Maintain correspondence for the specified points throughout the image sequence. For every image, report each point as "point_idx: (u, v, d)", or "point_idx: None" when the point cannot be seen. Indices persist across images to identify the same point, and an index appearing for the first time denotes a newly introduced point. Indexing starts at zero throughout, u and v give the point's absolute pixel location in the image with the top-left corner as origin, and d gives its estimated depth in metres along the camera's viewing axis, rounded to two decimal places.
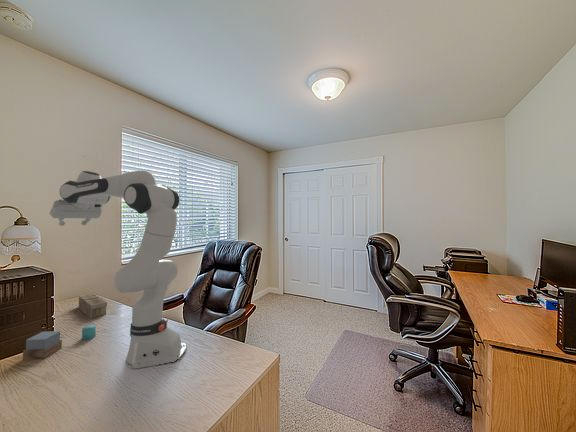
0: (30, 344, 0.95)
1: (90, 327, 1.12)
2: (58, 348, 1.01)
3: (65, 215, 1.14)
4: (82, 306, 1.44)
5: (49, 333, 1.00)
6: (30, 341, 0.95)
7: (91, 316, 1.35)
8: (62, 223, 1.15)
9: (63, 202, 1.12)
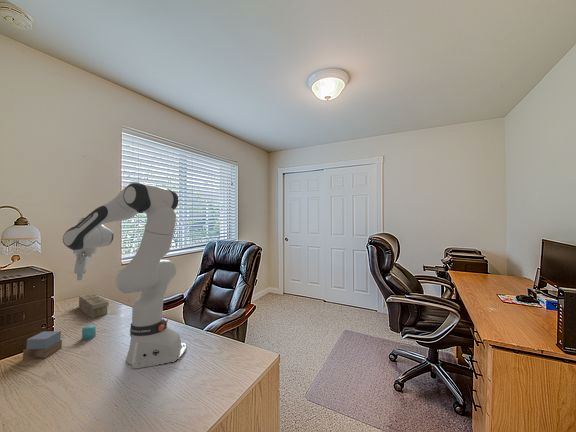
0: (31, 343, 0.95)
1: (90, 327, 1.12)
2: (58, 348, 1.01)
3: (85, 267, 1.13)
4: (83, 306, 1.44)
5: (50, 333, 1.00)
6: (31, 341, 0.95)
7: (92, 316, 1.35)
8: None
9: (83, 255, 1.11)
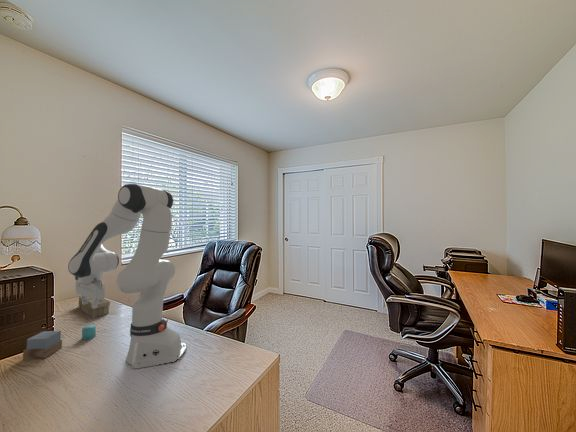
0: (31, 343, 0.95)
1: (90, 327, 1.12)
2: (58, 348, 1.01)
3: None
4: (83, 306, 1.44)
5: (50, 333, 1.01)
6: (31, 340, 0.95)
7: (94, 315, 1.36)
8: None
9: None
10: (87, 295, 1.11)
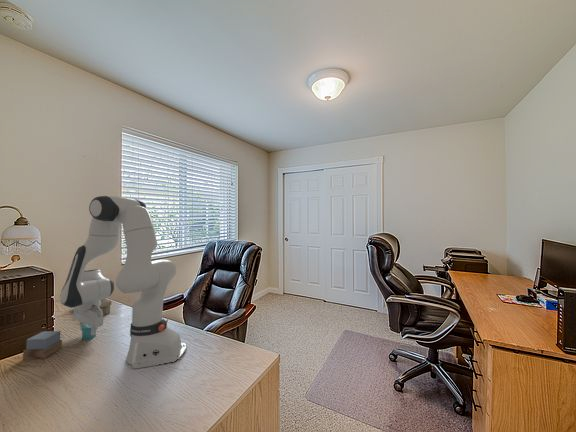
0: (31, 343, 0.95)
1: (90, 327, 1.12)
2: (58, 348, 1.01)
3: None
4: None
5: (49, 333, 1.00)
6: (30, 341, 0.95)
7: None
8: None
9: None
10: (85, 322, 1.10)
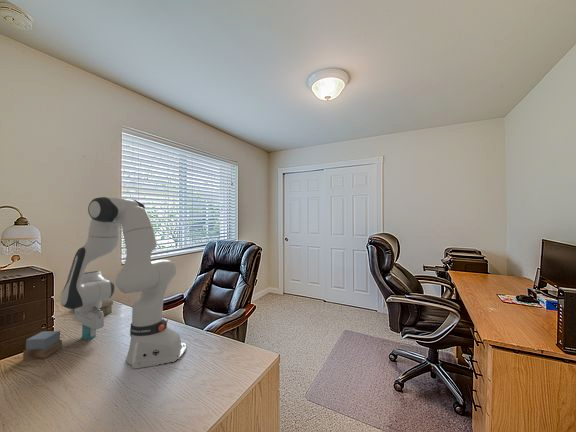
0: (30, 343, 0.95)
1: None
2: (58, 348, 1.01)
3: None
4: None
5: (49, 333, 1.01)
6: (30, 341, 0.95)
7: None
8: None
9: None
10: (86, 324, 1.10)
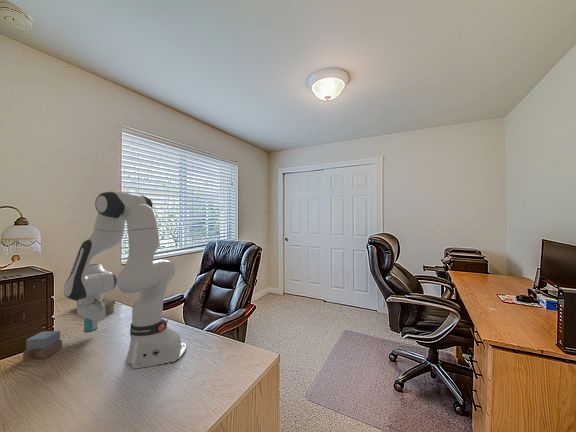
0: (30, 343, 0.95)
1: None
2: (58, 348, 1.01)
3: None
4: None
5: (49, 333, 1.01)
6: (30, 341, 0.95)
7: None
8: None
9: None
10: (88, 316, 1.10)
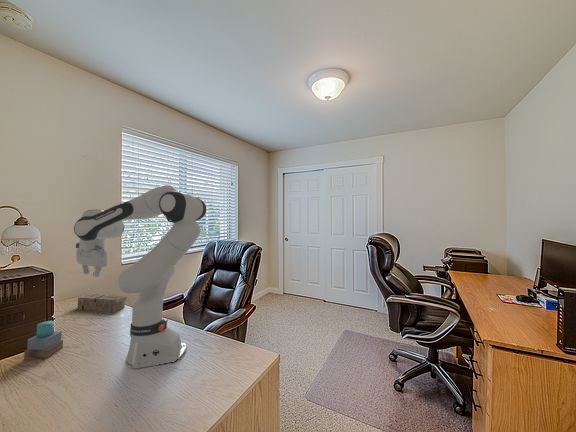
0: (31, 343, 0.95)
1: (47, 323, 0.98)
2: (59, 348, 1.01)
3: None
4: (91, 305, 1.46)
5: None
6: (31, 341, 0.95)
7: (115, 310, 1.44)
8: None
9: None
10: (88, 263, 1.05)
